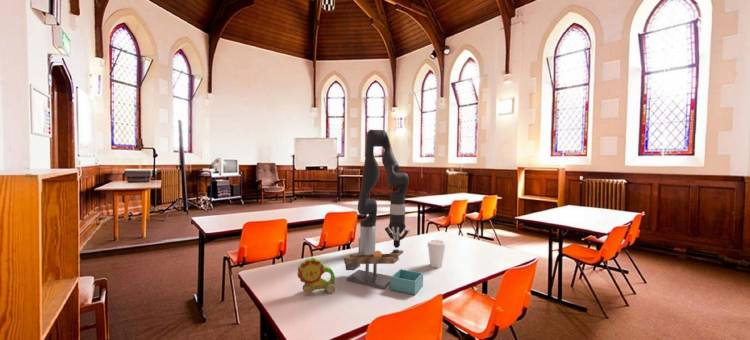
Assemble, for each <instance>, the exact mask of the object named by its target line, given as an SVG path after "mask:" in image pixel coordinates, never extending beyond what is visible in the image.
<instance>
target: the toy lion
mask: <svg viewBox="0 0 750 340" xmlns="http://www.w3.org/2000/svg"><path fill="white" fill-rule="evenodd" d="M325 273H328V274H329V275H330V280H328V281H327V280H326V279H324V278H323V277H322V276H323V274H325ZM297 278H299V280H300V282H301V283H304V284H303V285H302V290H303V291H302V292H303V295H304V296H306V295H309V294H311V295H312V294H313V292H314V291H316V290H326V292H327V293H328V294H333V293H334V292H335V291H336V286H335V281H336V277H335V272H334V270H332V268H331V267H329V266H325V265H324V263H323V262H321V260H320V259H318V258H316V257H311V258H306V259H305V260H303V261H301V262H300V265H299V266H297ZM309 296H310V295H309Z"/></svg>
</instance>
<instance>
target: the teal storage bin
mask: <svg viewBox="0 0 750 340" xmlns="http://www.w3.org/2000/svg"><path fill="white" fill-rule="evenodd" d="M391 276H392V277H391V284H390V291H391V292H398V293H402V294H406V295H407V294H408V295H411V296H416V295H417V294H418V292H420V290H421V289H422V288H423V286H424V272H418V271H414V270H413V271H412V270H409V269H408V270H407V269H404V268H403V269H402V268H400V269H399V270H397V272H395V273H394V274H393V275H391Z"/></svg>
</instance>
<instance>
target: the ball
mask: <svg viewBox="0 0 750 340" xmlns="http://www.w3.org/2000/svg"><path fill="white" fill-rule="evenodd" d="M382 254H383V252H382V251H380V250H375V252H374V257H382Z"/></svg>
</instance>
